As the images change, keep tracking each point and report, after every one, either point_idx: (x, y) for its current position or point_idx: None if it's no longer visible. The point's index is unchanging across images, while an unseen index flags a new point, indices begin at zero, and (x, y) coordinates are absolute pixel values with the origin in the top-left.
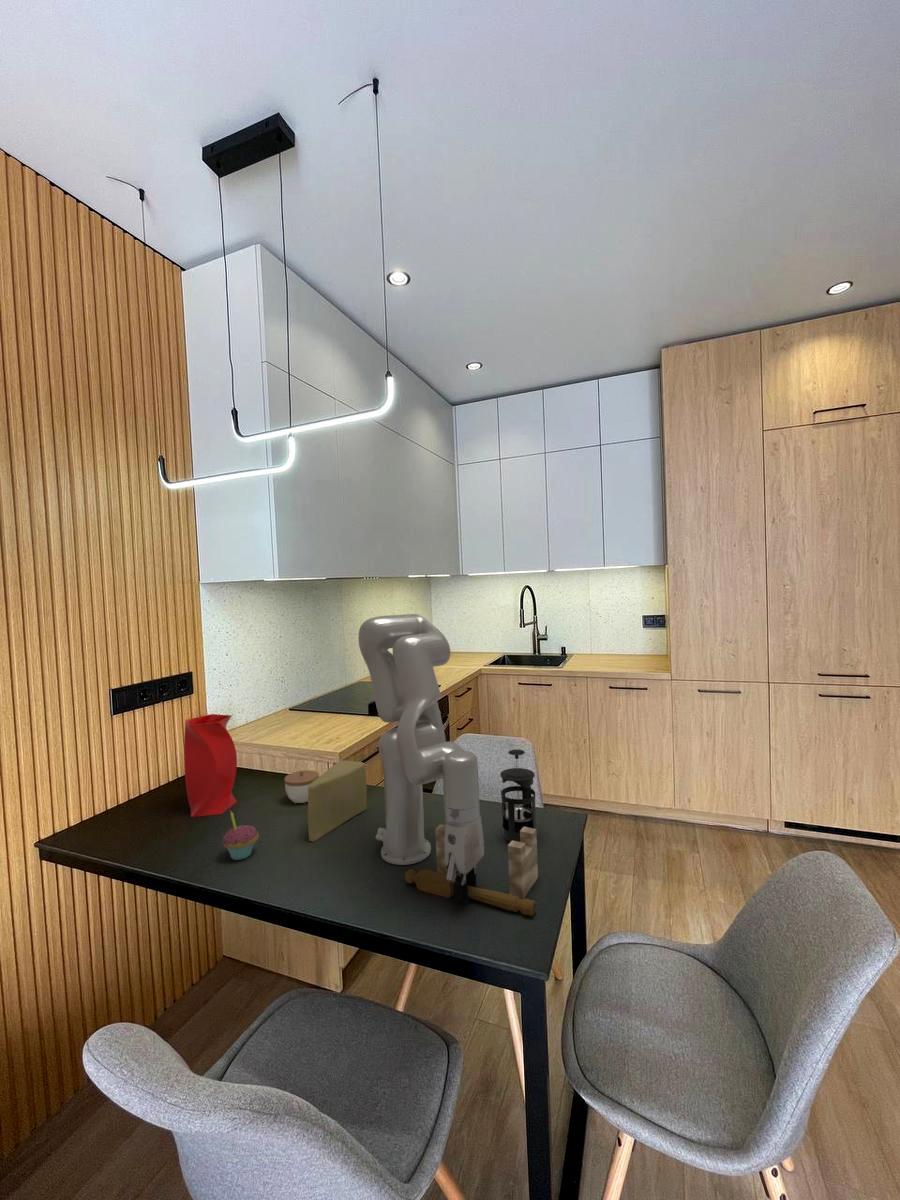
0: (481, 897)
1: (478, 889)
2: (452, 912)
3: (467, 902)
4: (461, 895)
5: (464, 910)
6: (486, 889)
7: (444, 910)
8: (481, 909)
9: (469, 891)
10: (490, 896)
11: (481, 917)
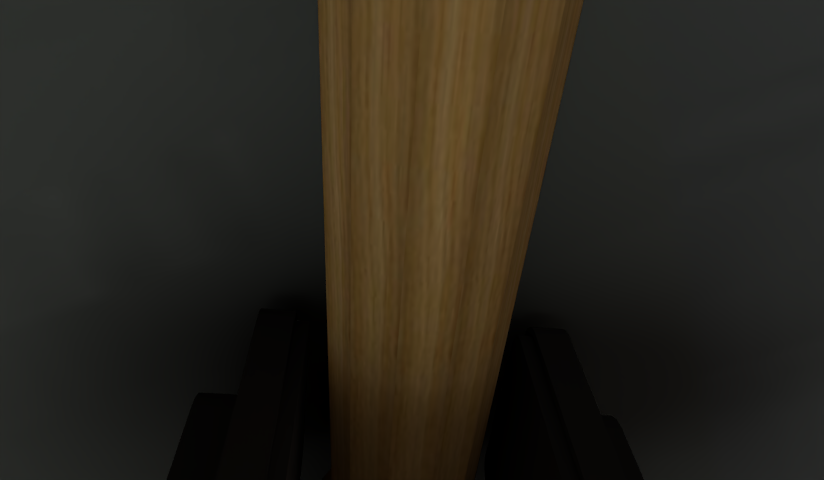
0: (537, 187)
1: (451, 310)
2: (720, 401)
3: (554, 329)
4: (628, 465)
5: (663, 303)
6: (368, 175)
7: (695, 474)
8: (601, 107)
9: (487, 407)
10: (563, 14)
11: (795, 42)
